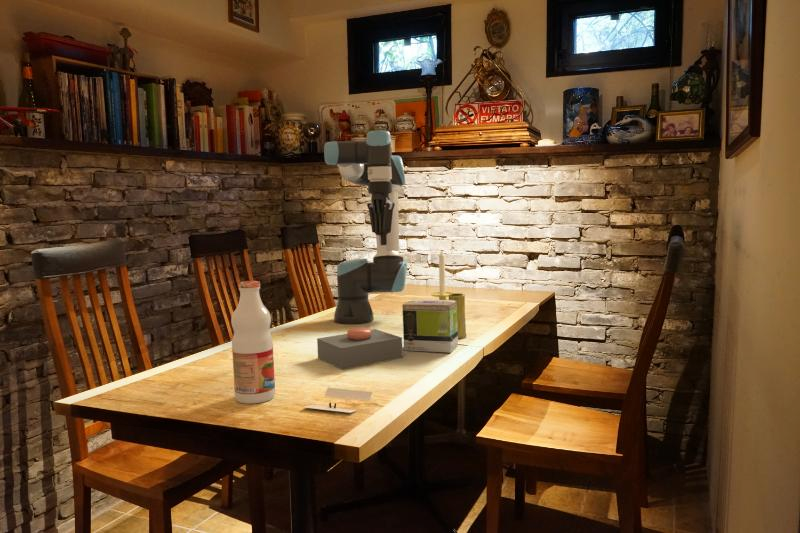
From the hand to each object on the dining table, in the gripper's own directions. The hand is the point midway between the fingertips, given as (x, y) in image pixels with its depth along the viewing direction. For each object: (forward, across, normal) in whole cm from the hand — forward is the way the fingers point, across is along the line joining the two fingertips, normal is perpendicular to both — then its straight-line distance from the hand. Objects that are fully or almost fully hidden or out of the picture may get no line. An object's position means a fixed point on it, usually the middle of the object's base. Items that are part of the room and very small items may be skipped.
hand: (381, 255), depth 196 cm
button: (+28, +12, -16) cm, 34 cm away
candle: (+29, -17, +37) cm, 50 cm away
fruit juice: (+29, +28, -54) cm, 67 cm away
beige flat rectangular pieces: (+29, +44, -40) cm, 66 cm away
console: (+28, +12, -16) cm, 35 cm away
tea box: (+29, +16, +7) cm, 34 cm away
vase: (+29, +9, +23) cm, 38 cm away
